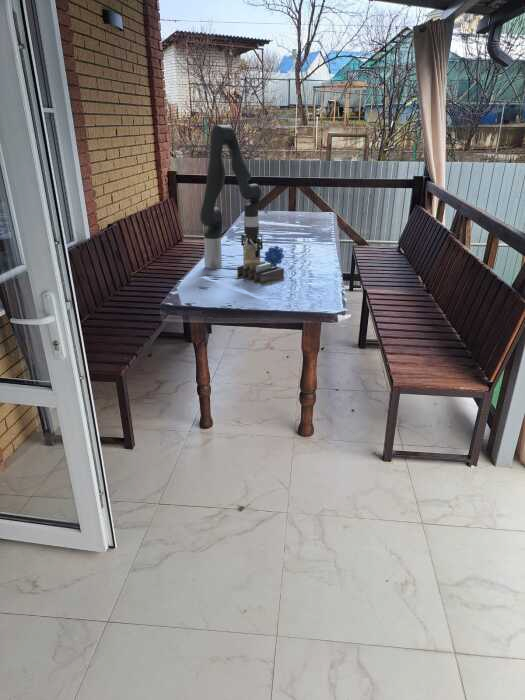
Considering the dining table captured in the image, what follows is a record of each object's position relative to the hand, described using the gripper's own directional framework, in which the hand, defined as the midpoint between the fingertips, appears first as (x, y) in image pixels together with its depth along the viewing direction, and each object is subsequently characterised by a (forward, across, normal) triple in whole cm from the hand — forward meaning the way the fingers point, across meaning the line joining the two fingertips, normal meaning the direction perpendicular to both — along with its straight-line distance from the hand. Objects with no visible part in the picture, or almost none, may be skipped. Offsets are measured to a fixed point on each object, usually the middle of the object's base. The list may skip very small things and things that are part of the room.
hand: (252, 255), depth 259 cm
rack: (+12, +7, 0) cm, 13 cm away
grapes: (+12, -6, +23) cm, 27 cm away
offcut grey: (+10, +9, 0) cm, 13 cm away
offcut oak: (+10, +4, 0) cm, 11 cm away
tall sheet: (+10, 0, 0) cm, 10 cm away
